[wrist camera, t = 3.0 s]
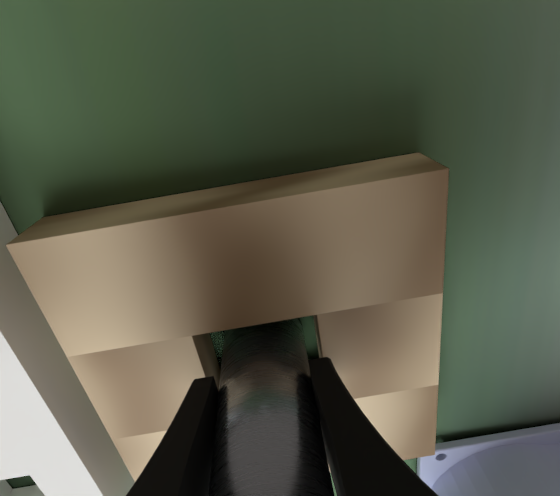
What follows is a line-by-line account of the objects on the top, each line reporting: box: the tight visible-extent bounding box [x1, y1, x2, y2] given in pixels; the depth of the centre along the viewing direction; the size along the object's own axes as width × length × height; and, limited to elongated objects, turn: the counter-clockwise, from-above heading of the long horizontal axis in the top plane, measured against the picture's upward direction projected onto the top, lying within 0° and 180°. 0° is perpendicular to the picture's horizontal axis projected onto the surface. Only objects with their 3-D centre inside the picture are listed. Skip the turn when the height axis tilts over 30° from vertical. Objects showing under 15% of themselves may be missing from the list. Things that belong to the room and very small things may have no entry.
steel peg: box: [208, 318, 334, 496], centre depth 11 cm, size 3×3×7 cm
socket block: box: [6, 152, 449, 482], centre depth 14 cm, size 12×12×2 cm
